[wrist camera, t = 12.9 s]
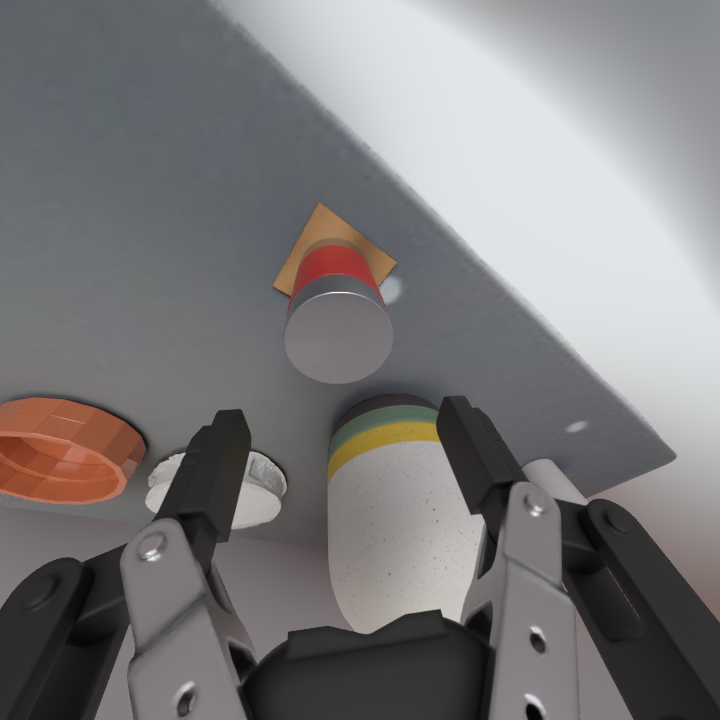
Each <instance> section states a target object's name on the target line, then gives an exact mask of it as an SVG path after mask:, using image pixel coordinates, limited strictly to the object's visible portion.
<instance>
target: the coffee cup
mask: <svg viewBox="0 0 720 720" xmlns="http://www.w3.org/2000/svg"><path fill="white" fill-rule="evenodd" d="M521 469H522V471H523V472H524V474H525V476H526V477H527V478H528V480H529V481H530V482H531V483H533V484H536V485H538V486H540V487H541V488H543V489H544V490H545V491H547V492H548V493H549V494H550V495H551V496H552V497H553V498H556V499H560V500H564V501H568V502H573V503H577V504H581V505H585V506H586V505H587V504H588V501H587V500H586V499H585V498H584V497H583V496H582V495H581V493H580V492H579V491H578V490H577V489H576V488H575V487H574V485H573V484H572V483H571V482H570V481H569V480H568V479H567V477H566V476H565V475H564V474H563V473H562V472H561V470H560V469H559V468H558V467H557V466H556V465H555V464H554V462H553V461H552V460H550V459H539V460H535V461H532V462H530V463H528V464H526V465H525V466H523V467H522V468H521Z"/></svg>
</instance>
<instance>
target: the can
mask: <svg viewBox="0 0 720 720" xmlns="http://www.w3.org/2000/svg"><path fill="white" fill-rule="evenodd" d="M393 341H394V332H393V327H392V324H391V321H390V318H389V316H388V313H387V311H386V307H385V304H384V301H383V299H382V296H381V294H380V291H379V289H378V286H377V284H376V281H375V279H374V276H373V274H372V271H371V269H370V267H369V265H368V263H367V261H366V258H365V256H364V255H363V253H362V252H361V251H360V249H359V248H358V247H357V246H355V245H354V244H353V243H351V242H349V241H347V240H344V239H341V238H325V239H321V240H319V241H317V242H315V243H313V244H312V245H311V246H310V247H309V248H308V249H307V250H306V251H305V253H304V254H303V256H302V258H301V261H300V264H299V268H298V271H297V274H296V278H295V282H294V286H293V291H292V295H291V299H290V303H289V307H288V313H287V320H286V324H285V328H284V334H283V343H284V348H285V352H286V354H287V356H288V358H289V360H290V361H291V363H292V364H293V365H294V366H295V368H296V369H298V370H299V371H300V372H301V373H303V374H304V375H306V376H307V377H309V378H311V379H314V380H316V381H319V382H323V383H329V384H346V383H352V382H356V381H359V380H362V379H364V378H366V377H368V376H370V375H371V374H373V373H374V372H376V371H377V370H378V369H379V368H380V367H381V366H382V365H383V364H384V363H385V361H386V360H387V358H388V357H389V355H390V353H391V350H392V347H393Z"/></svg>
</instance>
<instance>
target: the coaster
mask: <svg viewBox="0 0 720 720" xmlns="http://www.w3.org/2000/svg"><path fill="white" fill-rule="evenodd" d="M325 238H341V239H344V240H347V241H349V242H351V243H353V244H354V245H355V246H357V247H358V248H359V249H360V251H361V252H362V253H363V255H364V256H365V258H366V261H367V263H368V265H369V267H370V269H371V271H372V274H373V276H374V279H375V281H376V284H377V286H379V285H380V284H381V282H382V281H383V280H384V279H385V277H386V276H387V275H388V273H389V272H390V271H391V270H392V268H393V267H394V266H395V264H396V261H395V260H393V259H392V258H391V257H389V256H388V255H387V254H386V253H384V252H383V251H382V250H381V249H379V248H378V247H377V246H375V245H374V244H373V243H372V242H370V241H369V240H368V239H367V238H365V237H364V236H363V235H361V234H360V233H359V232H358V231H356V230H355V229H354V228H352V227H351V226H350V225H349V224H347V223H346V222H345V221H344V220H342V219H341V218H340V217H338V216H337V215H336V214H335V213H333V212H332V211H331V210H329V209H328V208H327V207H326V206H324V205H323V204H322V203H321V202H319V203H318V205H317V206H316V208H315V210H314V212H313V214H312V215H311V217H310V219H309V221H308V223H307V224H306V226H305V228H304V230H303V232H302V233H301V235H300V237H299V239H298V241H297V242H296V244H295V246H294V248H293V250H292V251H291V253H290V255H289V257H288V259H287V260H286V262H285V264H284V266H283V268H282V269H281V271H280V273H279V275H278V277H277V278H276V280H275V282H274V284H273V287H275V288H277V289H279V290H280V291H282V292H284V293H286V294H287V295H289V296H291V295H292V291H293V286H294V282H295V278H296V274H297V271H298V268H299V264H300V261H301V258H302V256H303V254H304V253H305V251H306V250H307V249H308V248H309V247H310V246H311V245H312V244H313V243H315V242H317V241H319V240H321V239H325Z"/></svg>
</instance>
